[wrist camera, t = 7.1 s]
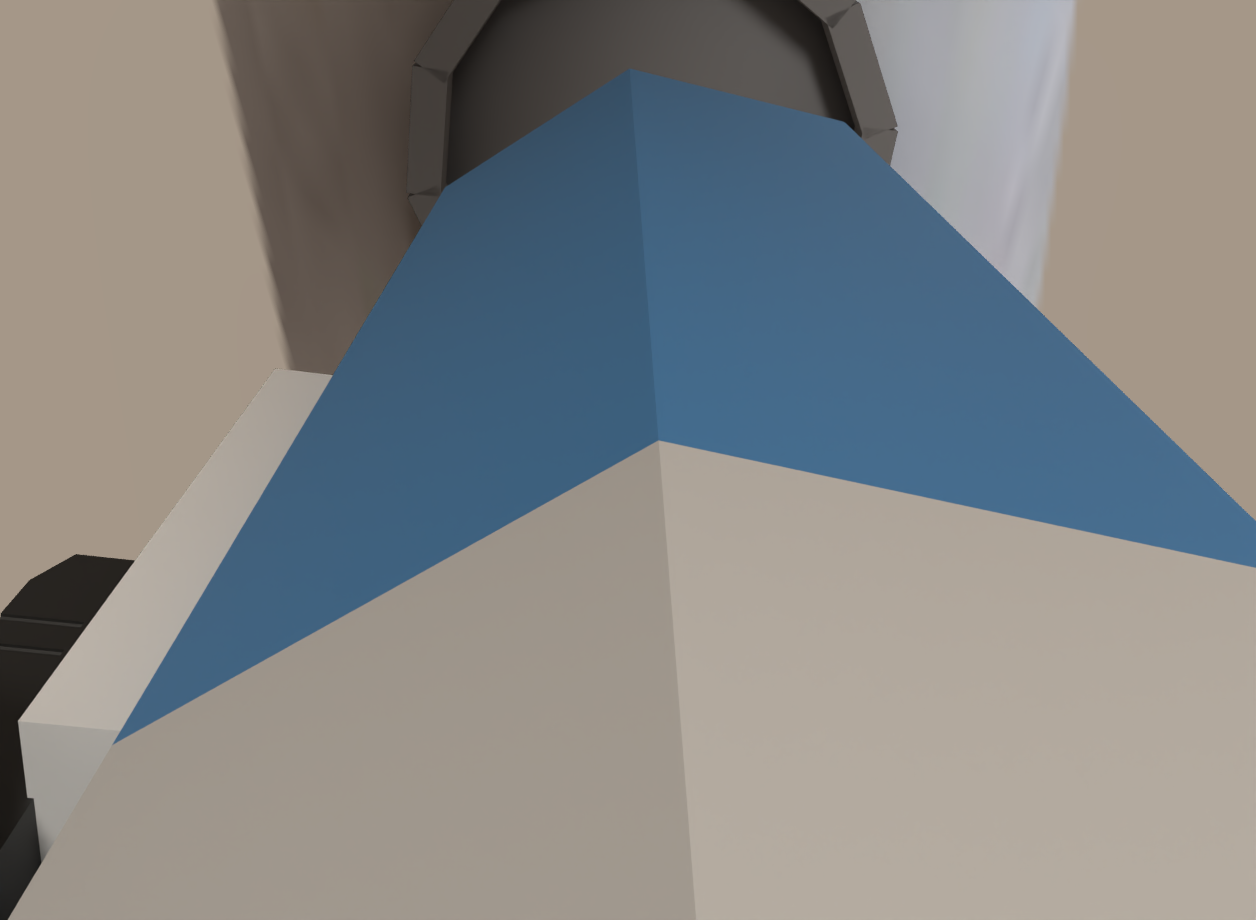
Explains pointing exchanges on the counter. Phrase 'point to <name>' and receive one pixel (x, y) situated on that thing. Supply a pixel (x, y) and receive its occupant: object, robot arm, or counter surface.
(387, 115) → the counter surface
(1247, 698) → the water bottle
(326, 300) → the counter surface
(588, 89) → the coaster ring
